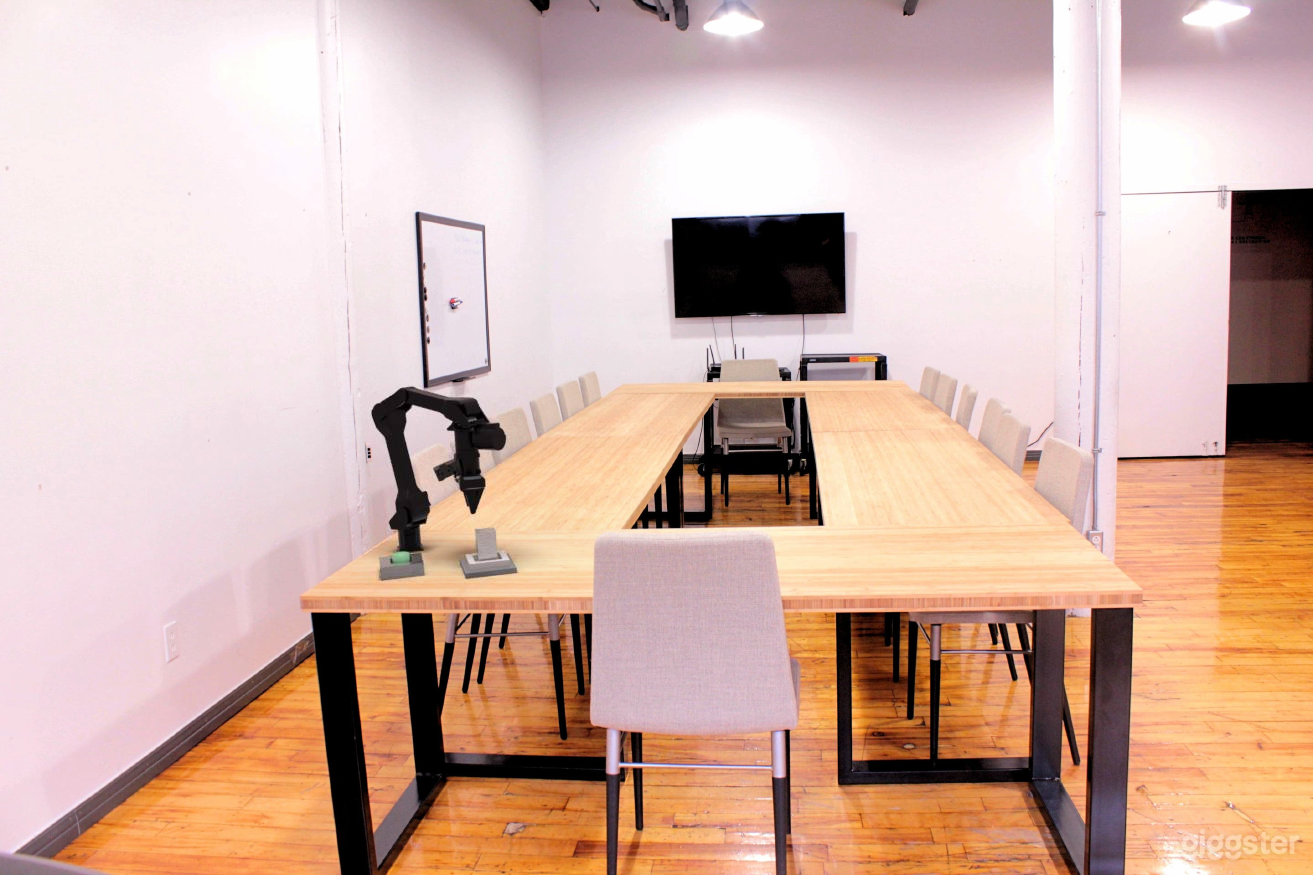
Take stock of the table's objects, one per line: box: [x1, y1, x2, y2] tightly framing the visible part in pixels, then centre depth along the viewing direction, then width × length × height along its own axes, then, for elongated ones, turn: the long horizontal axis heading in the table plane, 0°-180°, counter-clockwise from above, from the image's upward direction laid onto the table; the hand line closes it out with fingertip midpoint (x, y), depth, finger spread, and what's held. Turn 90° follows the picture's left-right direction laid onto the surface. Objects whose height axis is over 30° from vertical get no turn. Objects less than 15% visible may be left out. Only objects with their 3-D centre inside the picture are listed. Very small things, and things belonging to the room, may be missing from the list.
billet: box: [474, 526, 498, 562], centre depth 238 cm, size 4×4×8 cm
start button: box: [391, 551, 410, 563], centre depth 238 cm, size 4×4×4 cm
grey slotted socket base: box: [459, 549, 518, 579], centre depth 239 cm, size 14×12×3 cm
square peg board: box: [378, 552, 425, 581], centre depth 238 cm, size 10×10×3 cm
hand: (471, 510), depth 248 cm, fingers open, 9 cm apart
